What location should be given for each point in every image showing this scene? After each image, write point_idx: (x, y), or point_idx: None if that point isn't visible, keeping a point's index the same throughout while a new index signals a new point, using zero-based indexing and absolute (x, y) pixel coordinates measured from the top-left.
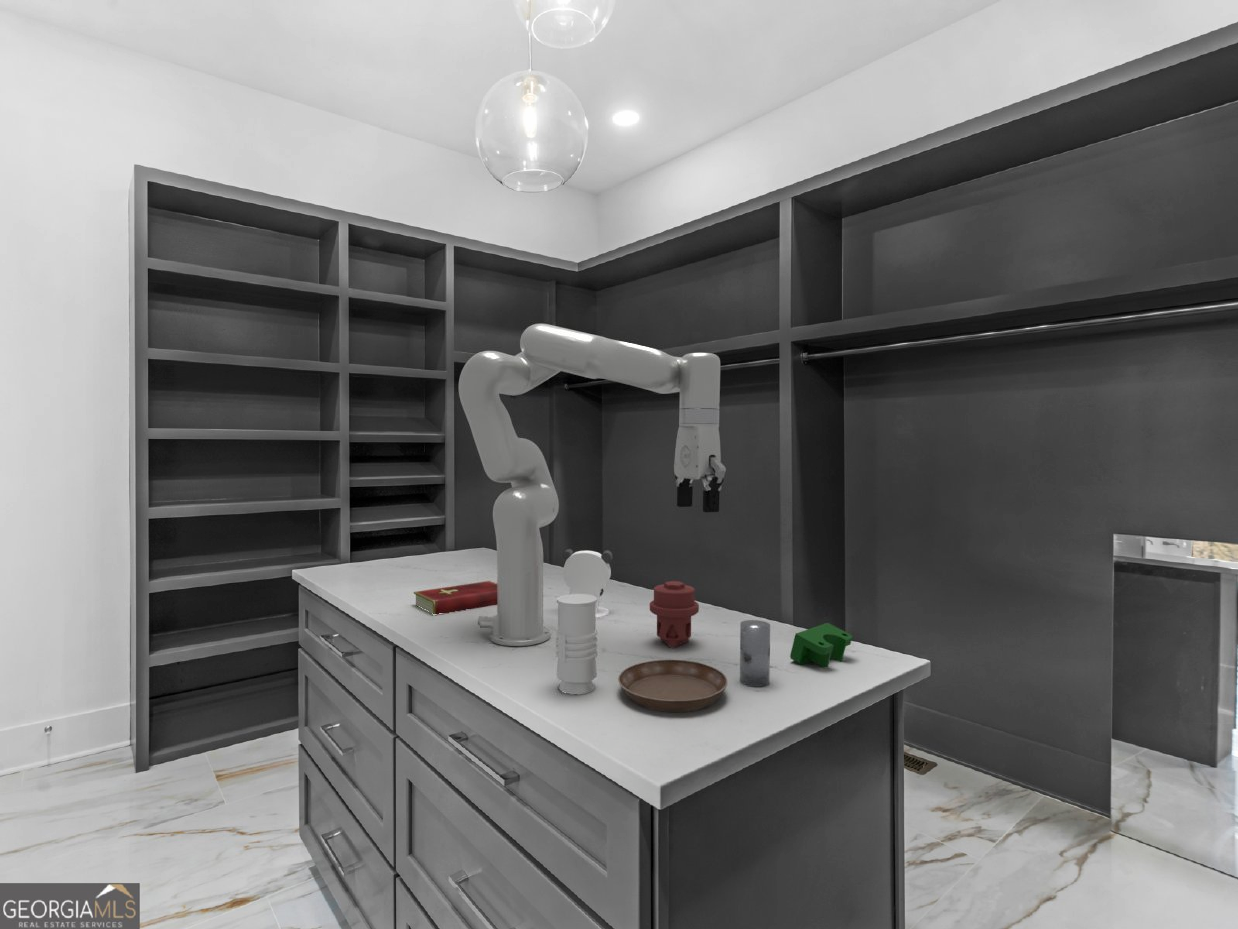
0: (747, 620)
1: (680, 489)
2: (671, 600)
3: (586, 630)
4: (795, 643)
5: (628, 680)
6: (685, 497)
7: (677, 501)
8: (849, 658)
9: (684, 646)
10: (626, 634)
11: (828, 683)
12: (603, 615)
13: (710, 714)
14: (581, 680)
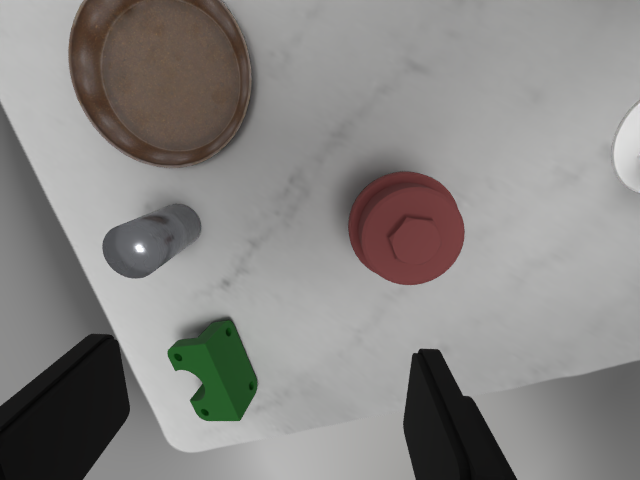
0: (157, 254)
1: (452, 460)
2: (371, 203)
3: None
4: (210, 334)
5: (220, 17)
6: (422, 436)
7: (440, 367)
8: None
9: None
10: (478, 154)
11: (145, 308)
12: (616, 166)
13: None
14: None
